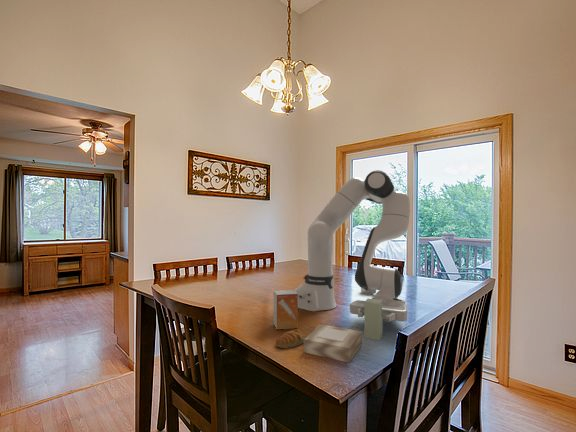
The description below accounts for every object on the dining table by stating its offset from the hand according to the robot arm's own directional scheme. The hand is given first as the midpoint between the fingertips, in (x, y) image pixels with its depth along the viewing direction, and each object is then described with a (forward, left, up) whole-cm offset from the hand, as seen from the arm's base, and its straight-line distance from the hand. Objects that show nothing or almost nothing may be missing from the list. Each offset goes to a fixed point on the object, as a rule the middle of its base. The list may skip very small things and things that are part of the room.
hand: (373, 316), depth 103 cm
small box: (-31, -6, -7) cm, 32 cm away
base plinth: (-9, -15, -7) cm, 19 cm away
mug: (-14, +56, -7) cm, 58 cm away
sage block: (0, 0, -7) cm, 7 cm away
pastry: (-23, -18, -7) cm, 30 cm away
